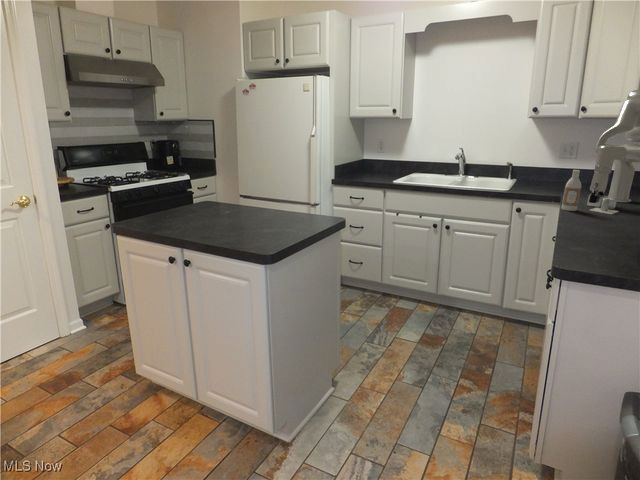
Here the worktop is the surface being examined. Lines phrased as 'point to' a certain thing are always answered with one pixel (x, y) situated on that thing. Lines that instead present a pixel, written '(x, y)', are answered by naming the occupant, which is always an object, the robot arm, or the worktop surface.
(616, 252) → the worktop surface
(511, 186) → the worktop surface
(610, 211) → the duct stub
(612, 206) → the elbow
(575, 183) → the bath foam
